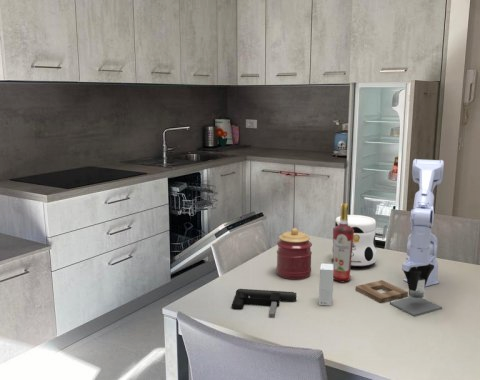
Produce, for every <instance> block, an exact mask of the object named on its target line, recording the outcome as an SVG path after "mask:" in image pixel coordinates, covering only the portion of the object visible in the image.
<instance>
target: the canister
mask: <svg viewBox="0 0 480 380" xmlns="http://www.w3.org/2000/svg"><path fill="white" fill-rule="evenodd" d="M278 237H279V240H278V241H277V242H276V246H277V250H276V274H277V275H278V276H279V277H280V278H283V279H288V280H303V279H306V278H309V277H310V276H311V273H312V255H313V254H312V252H313V251H312V250H311V247H312V245H313V243H312V242H311V241H310V239H311V238H310V236H309V235H307V234H306V233H305V232H303V231H299V229H298V228H296V227H294V228H291V231H290V230H289V231H285V232H284V233H282V234H280V235H279V236H278Z"/></svg>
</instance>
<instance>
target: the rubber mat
mask: <svg viewBox="0 0 480 380" xmlns="http://www.w3.org/2000/svg"><path fill="white" fill-rule="evenodd" d="M389 305H391V306H392V307H394V308H396V309H398V310H400V311H403V312H404V313H406V314H407V315H408V314H409V316H412V317H417V316H422V315H425V314H429V313H432V312H435V311H439V310H442V309H443V306H441V305H440V304H439V305H438V304H436V303H434V302H432V301H430V300H428V299H425V298H424V297H423V298H414V297H411V296H409V297H405V298H403V299H402V298H401V299H397V300H395V301H394V300H393V301H389Z"/></svg>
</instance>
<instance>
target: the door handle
mask: <svg viewBox="0 0 480 380" xmlns="http://www.w3.org/2000/svg"><path fill="white" fill-rule="evenodd" d="M296 301H297V292H294V291H284V290H283V291H281V290H266V289H251V288H250V289H249V288H238V289H237V290H235V295H234V298H233V300H232V303H231V308H232V310H237V311H239V310H243V308H244V307H245V305H247V306H264V307H270V308H269V314H268V315H269V316H268V317H269V318H273V319H274V318H275V316H276V312H277V308H279V307H280V303H281V302H296ZM275 319H276V318H275Z"/></svg>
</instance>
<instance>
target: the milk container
mask: <svg viewBox="0 0 480 380" xmlns="http://www.w3.org/2000/svg"><path fill="white" fill-rule="evenodd" d="M340 216H341V215H339V216H337V217H336V218H335V225H334V227H336V226H338V225H339V224H340ZM347 216H348V226H350V227H352V228H353V229H354V236H353V247H352V256H351V268H366V267H369V266H372V265H373V264H374V263H375V262H376V260H377V257H378V256H377V255H378V249H377V245H376V233H377V229H376V228H377V223H376V219H375V218H373V217H371V216H367V215H361V214H347ZM331 248H332V249H331V254H332V256H333V246H332V247H331Z"/></svg>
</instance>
